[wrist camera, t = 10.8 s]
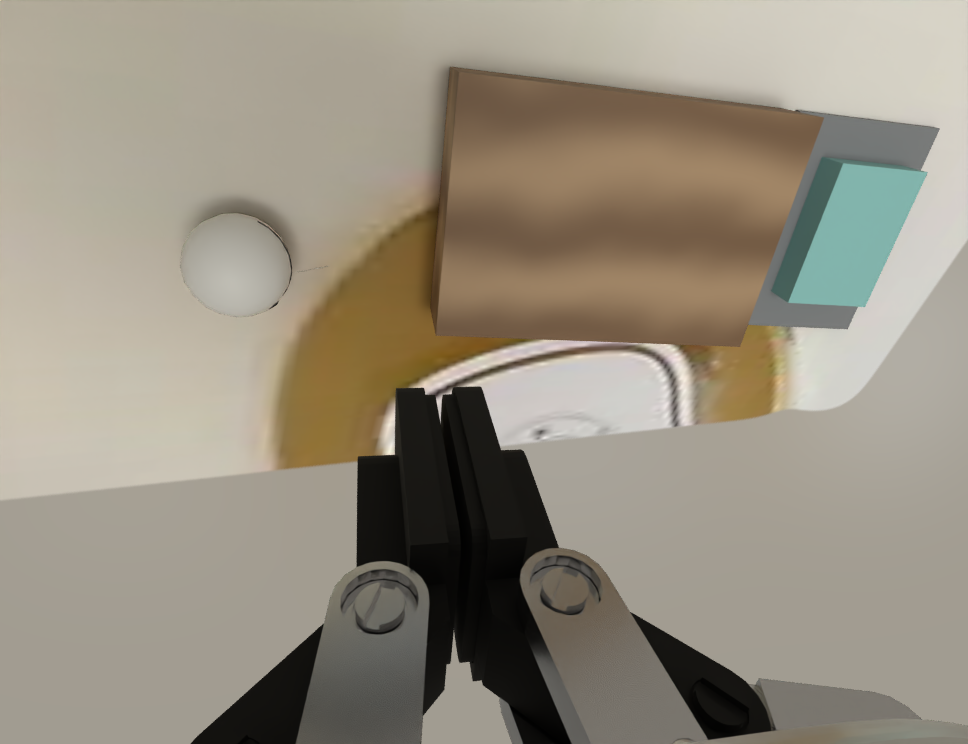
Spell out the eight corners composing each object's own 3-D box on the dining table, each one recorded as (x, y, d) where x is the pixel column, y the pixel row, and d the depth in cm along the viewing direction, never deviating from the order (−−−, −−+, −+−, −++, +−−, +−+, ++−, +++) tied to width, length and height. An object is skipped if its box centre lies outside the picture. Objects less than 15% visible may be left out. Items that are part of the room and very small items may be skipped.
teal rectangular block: (927, 172, 37) (903, 165, 38) (843, 163, 36) (821, 156, 37) (864, 306, 41) (845, 295, 43) (787, 302, 40) (771, 291, 42)
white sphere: (195, 287, 36) (167, 328, 31) (195, 192, 33) (165, 221, 28) (326, 306, 38) (319, 347, 33) (337, 218, 35) (331, 249, 30)
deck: (450, 66, 32) (459, 72, 28) (781, 108, 36) (824, 117, 32) (430, 307, 39) (435, 335, 35) (710, 320, 43) (739, 346, 39)
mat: (796, 110, 36) (800, 110, 36) (934, 127, 38) (939, 128, 38) (723, 321, 43) (726, 323, 42) (843, 326, 45) (847, 329, 44)
